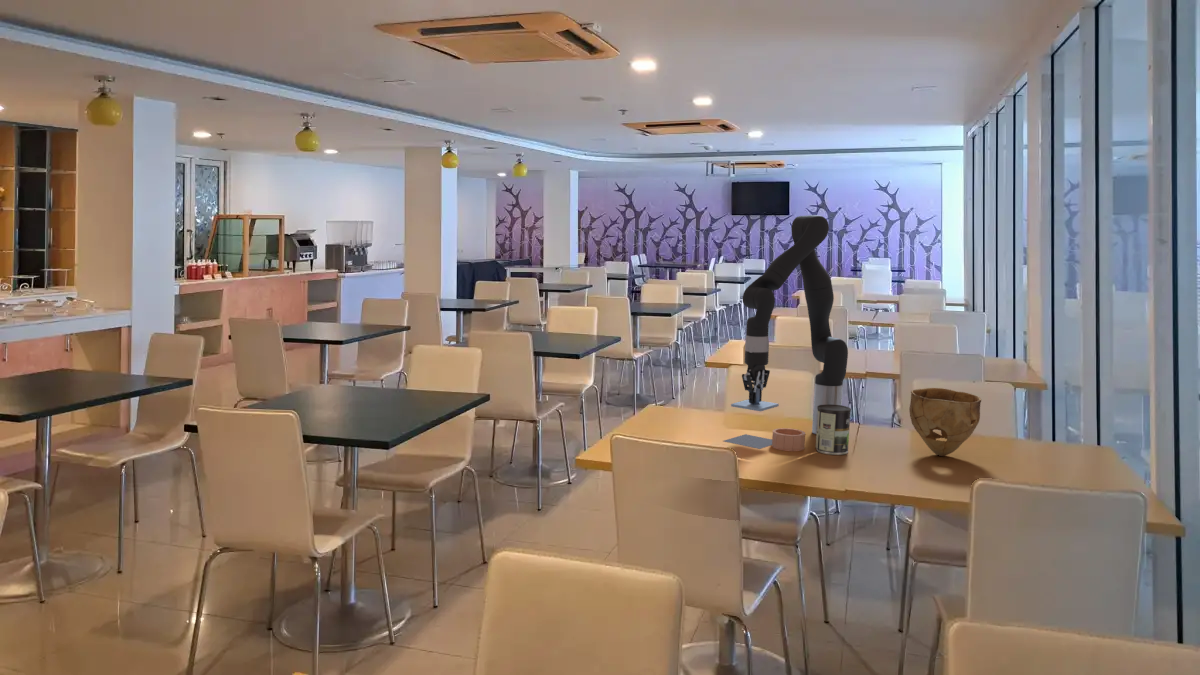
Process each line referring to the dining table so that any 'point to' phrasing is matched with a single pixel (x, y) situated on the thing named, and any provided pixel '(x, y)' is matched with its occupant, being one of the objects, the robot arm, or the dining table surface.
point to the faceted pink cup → (788, 439)
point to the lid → (755, 404)
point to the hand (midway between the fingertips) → (755, 402)
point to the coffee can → (832, 429)
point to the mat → (750, 441)
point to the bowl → (944, 417)
